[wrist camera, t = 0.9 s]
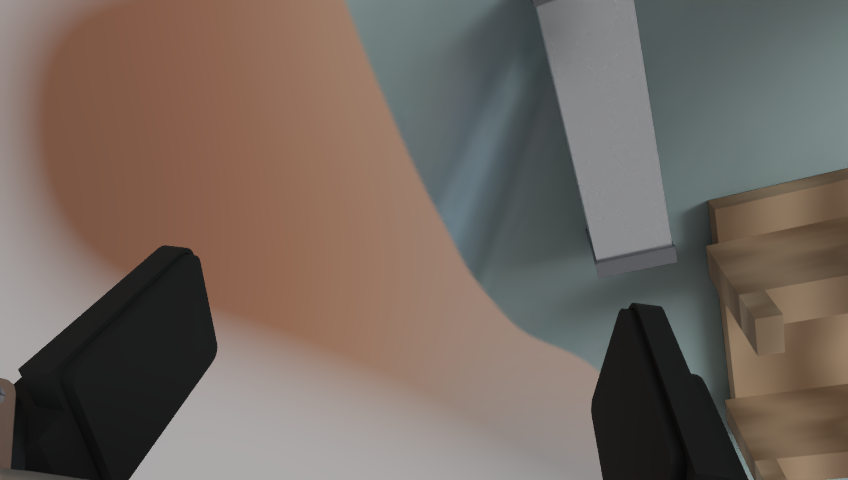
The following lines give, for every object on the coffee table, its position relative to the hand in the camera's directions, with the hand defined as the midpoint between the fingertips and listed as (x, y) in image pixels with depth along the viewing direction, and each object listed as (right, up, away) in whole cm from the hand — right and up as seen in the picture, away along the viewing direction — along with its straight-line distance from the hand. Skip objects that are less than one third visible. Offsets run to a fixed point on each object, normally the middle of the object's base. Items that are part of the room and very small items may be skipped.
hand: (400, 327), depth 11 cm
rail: (+10, +9, +17) cm, 22 cm away
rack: (+25, -3, +22) cm, 34 cm away
